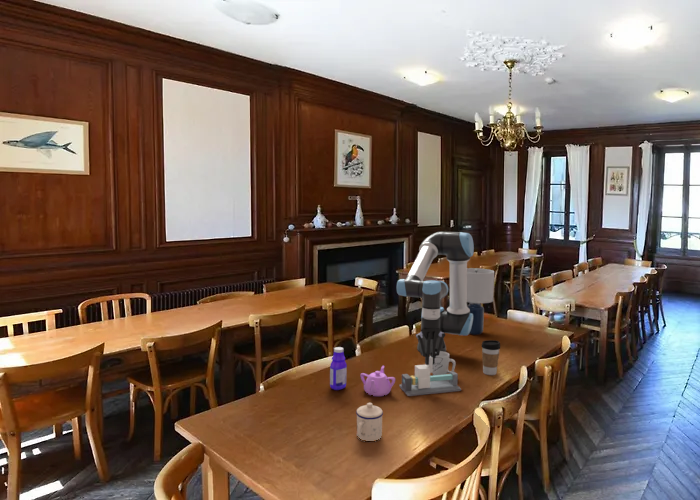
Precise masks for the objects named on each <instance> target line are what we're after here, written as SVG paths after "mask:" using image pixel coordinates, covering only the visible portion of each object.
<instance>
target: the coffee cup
mask: <svg viewBox="0 0 700 500" xmlns="http://www.w3.org/2000/svg"><path fill="white" fill-rule="evenodd" d="M481 348H482V350H481V355H482V356H481V357H482V358H481V359H482V372H483V374H484V375H488V376H495V375H496V374H497V371H498V365H499V359H500V358H499V357H500V349H501V342H500V341H499V340H496V339H495V340H494V339H492V340H491V339H490V340H489V339H487V340H483V341H482V342H481Z"/></svg>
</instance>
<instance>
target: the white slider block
mask: <svg viewBox="0 0 700 500" xmlns="http://www.w3.org/2000/svg"><path fill="white" fill-rule="evenodd" d="M430 376H431V373H430V368H429V367H428V366H427V365H426V364H417V365H414V377H417V378H418V383H415V385H418V388H419V389H422V388H430Z"/></svg>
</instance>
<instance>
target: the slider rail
mask: <svg viewBox="0 0 700 500" xmlns="http://www.w3.org/2000/svg"><path fill="white" fill-rule="evenodd" d="M458 376H459V375H458V373H457V372H456V371H454V372H450V374H449V373H447V374H444V375H433V374H432V375H430V388H422V389H419V388H418V385H415V383H418V378H417V377H415V375H409V374H408V373H402V374H401V384H399V388H400V389H401V390H402V391H403V392H404V394H405V396H407V397H414V396H423V395H432V394H433V395H434V394H442V393H454V392H460V391H462V388H461V387H460V386H459V385H458V381H459V379H458V378H459V377H458Z"/></svg>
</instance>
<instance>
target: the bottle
mask: <svg viewBox="0 0 700 500" xmlns="http://www.w3.org/2000/svg"><path fill="white" fill-rule="evenodd" d="M344 351H345V350H344V347H341V346H337V347H333V355H332V356H331V360H332V361H331V363H330V365H329V369H330V370H329V387H330V388H331V389H332V390H334V391H339V390H343V389H345V388H346V386H347V373H348V371H347V366H348V364H347V362H346V357H345V353H344Z"/></svg>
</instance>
